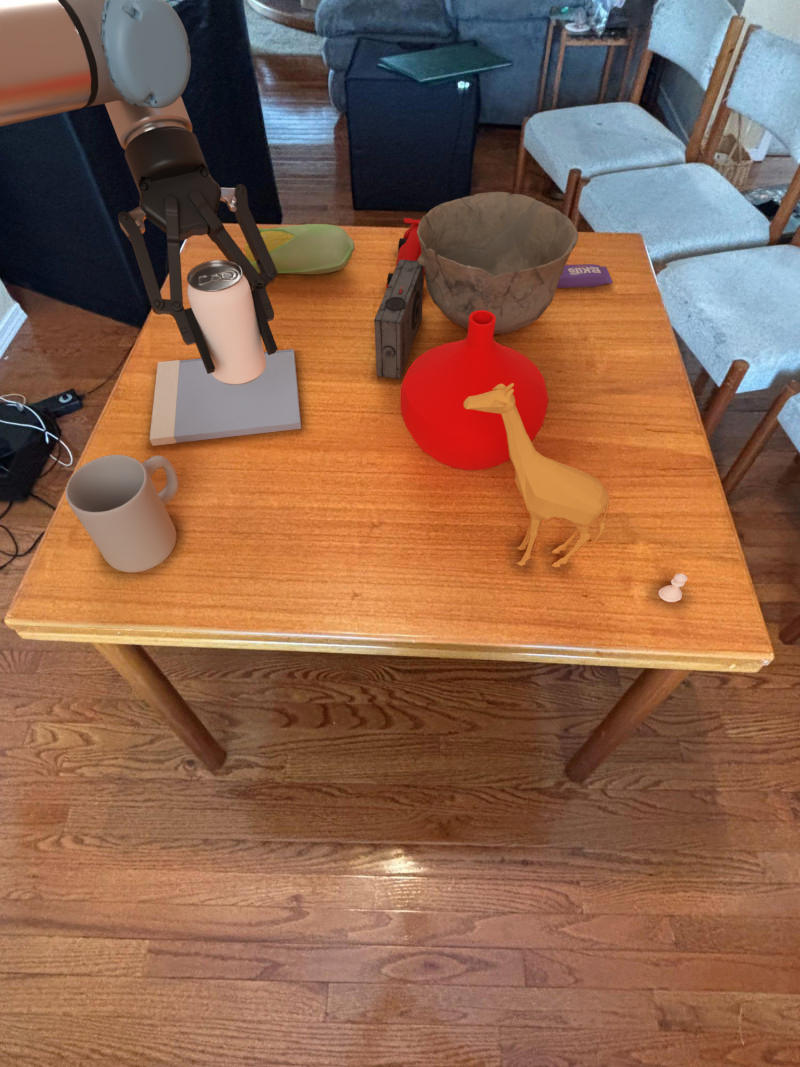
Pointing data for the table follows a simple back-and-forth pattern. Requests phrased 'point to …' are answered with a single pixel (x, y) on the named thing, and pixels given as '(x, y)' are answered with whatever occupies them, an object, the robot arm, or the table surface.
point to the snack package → (584, 276)
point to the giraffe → (545, 479)
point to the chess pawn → (673, 589)
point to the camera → (398, 319)
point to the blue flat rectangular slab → (223, 401)
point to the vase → (455, 376)
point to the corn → (306, 248)
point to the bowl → (494, 257)
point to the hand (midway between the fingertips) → (242, 361)
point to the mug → (125, 509)
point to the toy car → (408, 245)
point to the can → (227, 320)
